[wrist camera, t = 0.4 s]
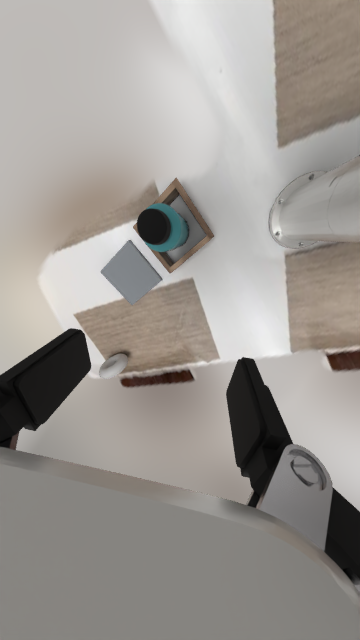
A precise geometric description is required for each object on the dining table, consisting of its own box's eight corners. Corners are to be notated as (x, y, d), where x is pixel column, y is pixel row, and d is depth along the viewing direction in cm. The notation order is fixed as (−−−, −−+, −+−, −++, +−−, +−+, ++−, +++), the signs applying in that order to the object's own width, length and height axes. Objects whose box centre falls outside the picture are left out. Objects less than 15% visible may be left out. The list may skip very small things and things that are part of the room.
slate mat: (130, 240, 39) (128, 240, 38) (162, 279, 42) (161, 280, 41) (102, 271, 44) (100, 271, 43) (133, 304, 47) (131, 305, 46)
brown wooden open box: (180, 185, 33) (174, 173, 27) (213, 236, 36) (214, 236, 30) (141, 228, 37) (128, 226, 31) (173, 269, 41) (168, 275, 35)
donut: (112, 362, 60) (96, 383, 51) (107, 355, 58) (90, 376, 50) (134, 356, 57) (121, 377, 48) (129, 348, 55) (115, 369, 47)
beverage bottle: (157, 229, 37) (113, 222, 19) (179, 208, 35) (152, 177, 17) (174, 253, 39) (148, 267, 21) (196, 234, 36) (188, 232, 19)
